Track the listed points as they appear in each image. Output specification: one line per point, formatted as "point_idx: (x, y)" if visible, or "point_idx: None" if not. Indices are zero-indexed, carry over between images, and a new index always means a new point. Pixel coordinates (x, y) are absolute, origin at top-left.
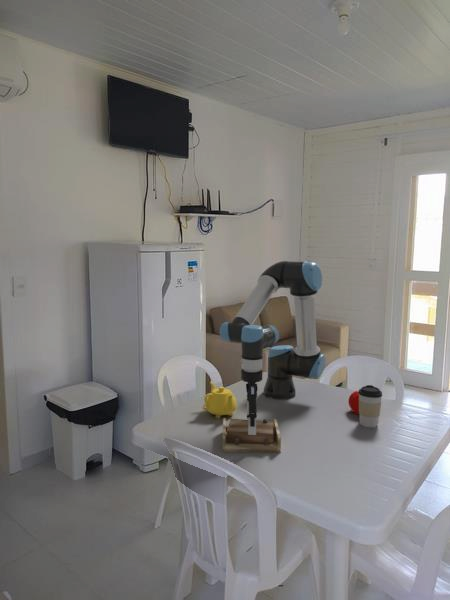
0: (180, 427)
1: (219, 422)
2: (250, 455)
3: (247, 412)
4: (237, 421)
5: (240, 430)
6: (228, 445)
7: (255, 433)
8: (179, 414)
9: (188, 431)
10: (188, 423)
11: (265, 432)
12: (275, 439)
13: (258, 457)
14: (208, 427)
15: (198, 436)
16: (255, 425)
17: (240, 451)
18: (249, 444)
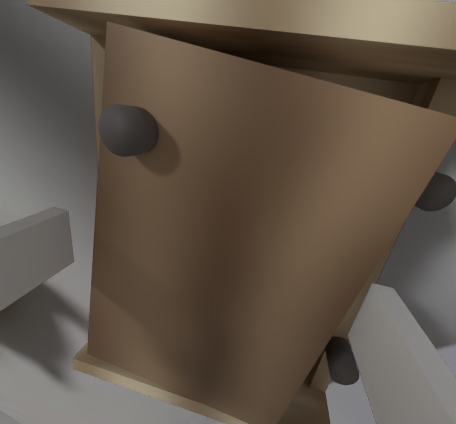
0: (98, 412)
1: (38, 295)
2: (401, 269)
3: (22, 291)
4: (127, 334)
5: (284, 370)
6: (329, 376)
7: (396, 301)
8: (5, 385)
9: (126, 403)
10: (65, 385)
11: (391, 196)
12: (265, 64)
13: (447, 236)
14: None
15: None
16: (450, 385)
17: None
18: (363, 287)
